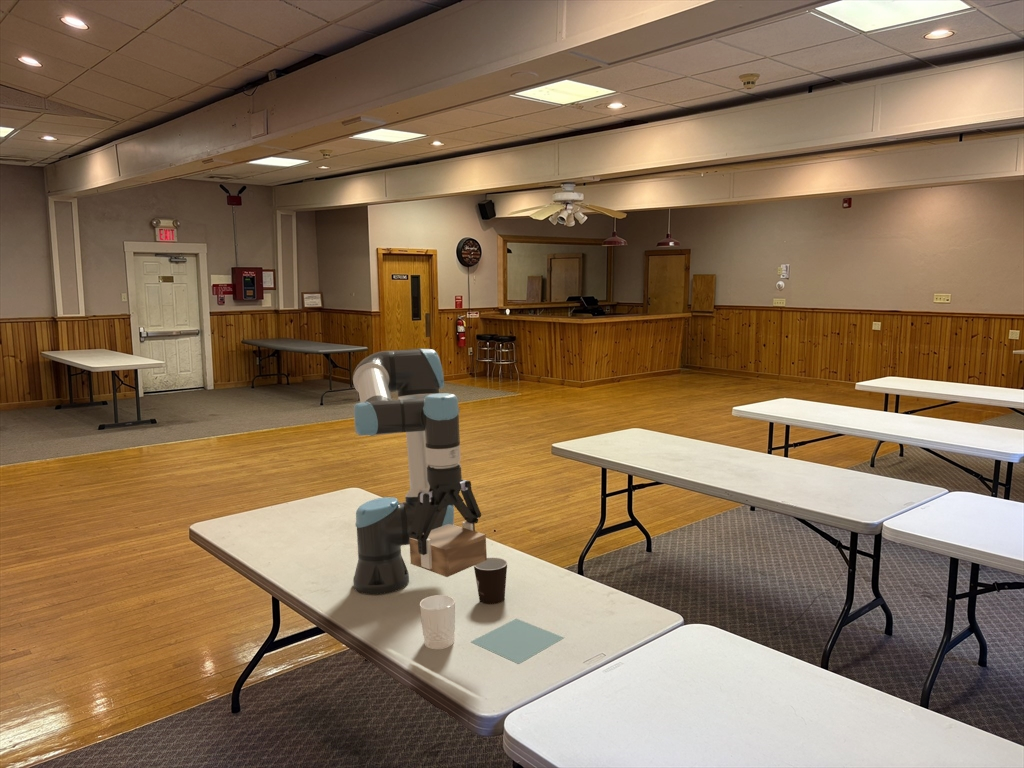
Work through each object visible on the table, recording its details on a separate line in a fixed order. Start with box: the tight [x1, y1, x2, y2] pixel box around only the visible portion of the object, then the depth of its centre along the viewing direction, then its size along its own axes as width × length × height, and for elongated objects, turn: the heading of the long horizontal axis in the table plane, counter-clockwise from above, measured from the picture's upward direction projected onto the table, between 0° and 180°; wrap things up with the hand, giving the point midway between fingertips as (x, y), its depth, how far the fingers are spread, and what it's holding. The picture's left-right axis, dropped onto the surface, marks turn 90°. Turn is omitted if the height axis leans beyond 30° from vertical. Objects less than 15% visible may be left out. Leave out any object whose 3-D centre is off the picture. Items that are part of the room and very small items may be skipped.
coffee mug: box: [473, 556, 508, 605], centre depth 182 cm, size 12×9×10 cm
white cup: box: [419, 594, 456, 650], centre depth 158 cm, size 8×8×10 cm
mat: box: [470, 618, 565, 665], centre depth 159 cm, size 15×15×1 cm
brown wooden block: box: [409, 524, 488, 578], centre depth 157 cm, size 12×12×6 cm
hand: (448, 558), depth 157 cm, fingers closed on brown wooden block, 12 cm apart
